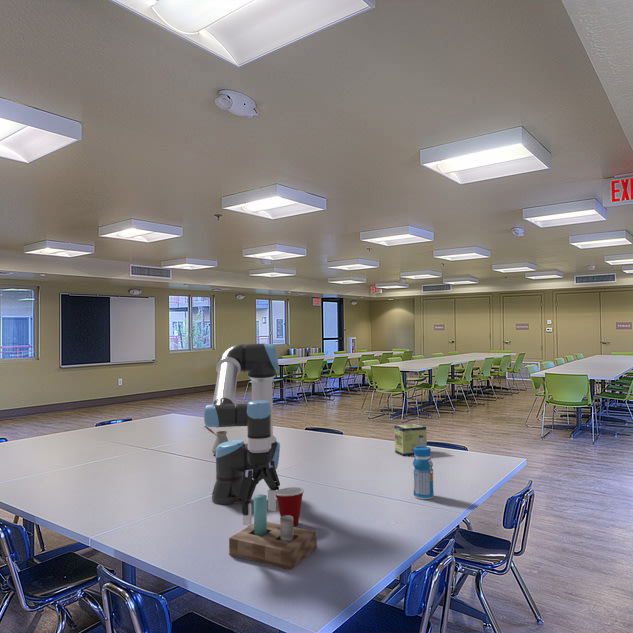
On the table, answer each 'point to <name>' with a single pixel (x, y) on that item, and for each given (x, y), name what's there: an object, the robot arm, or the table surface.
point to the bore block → (274, 544)
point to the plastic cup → (290, 502)
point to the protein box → (409, 438)
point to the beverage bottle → (423, 473)
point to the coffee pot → (218, 439)
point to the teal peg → (260, 515)
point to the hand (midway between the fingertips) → (260, 517)
